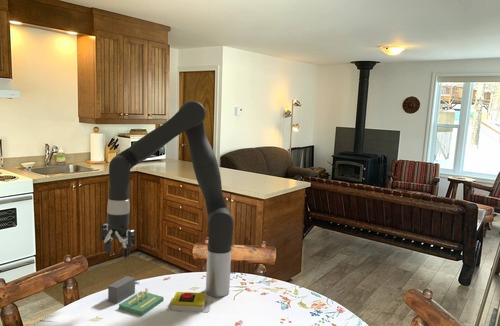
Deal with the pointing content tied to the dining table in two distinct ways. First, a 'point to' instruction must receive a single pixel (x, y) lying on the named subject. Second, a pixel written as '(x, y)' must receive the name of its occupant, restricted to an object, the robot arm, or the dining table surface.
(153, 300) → the header board
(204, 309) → the emergency button
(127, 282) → the block
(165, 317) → the dining table surface
